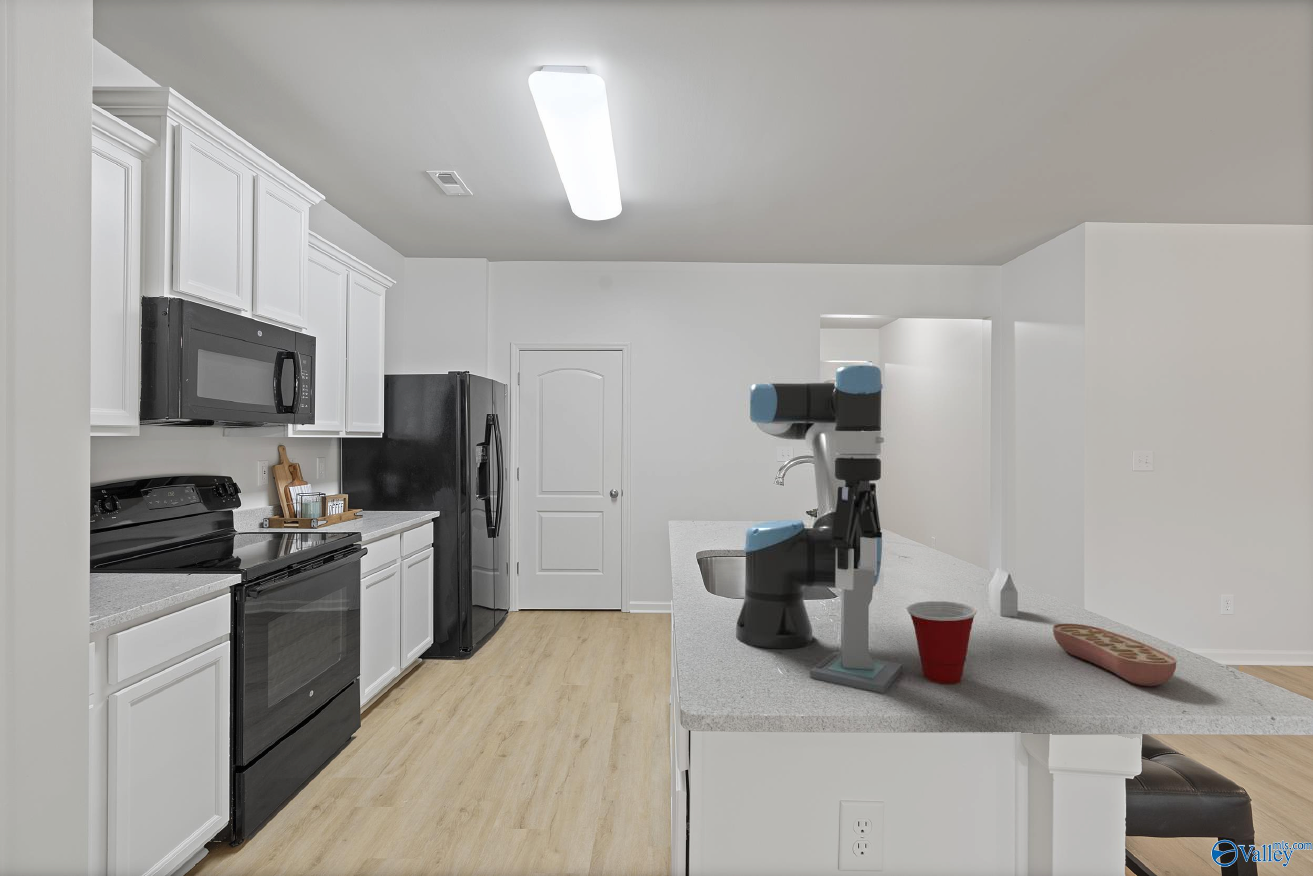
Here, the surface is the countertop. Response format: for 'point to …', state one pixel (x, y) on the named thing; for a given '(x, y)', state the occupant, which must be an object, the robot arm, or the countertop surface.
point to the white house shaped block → (1003, 594)
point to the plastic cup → (942, 638)
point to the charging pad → (857, 673)
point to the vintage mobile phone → (856, 618)
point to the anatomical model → (1116, 653)
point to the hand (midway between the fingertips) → (857, 581)
